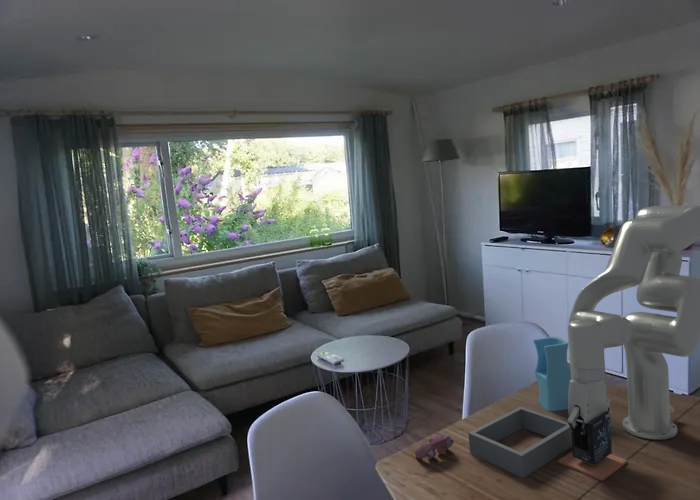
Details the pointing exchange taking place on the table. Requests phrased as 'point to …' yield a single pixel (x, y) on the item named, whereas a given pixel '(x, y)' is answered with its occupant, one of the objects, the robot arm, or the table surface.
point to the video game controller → (434, 446)
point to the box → (595, 440)
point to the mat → (597, 470)
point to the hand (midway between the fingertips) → (591, 441)
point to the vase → (552, 373)
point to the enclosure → (530, 458)
